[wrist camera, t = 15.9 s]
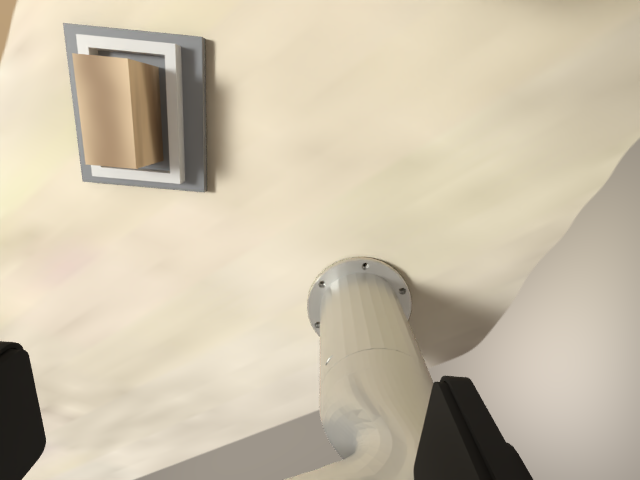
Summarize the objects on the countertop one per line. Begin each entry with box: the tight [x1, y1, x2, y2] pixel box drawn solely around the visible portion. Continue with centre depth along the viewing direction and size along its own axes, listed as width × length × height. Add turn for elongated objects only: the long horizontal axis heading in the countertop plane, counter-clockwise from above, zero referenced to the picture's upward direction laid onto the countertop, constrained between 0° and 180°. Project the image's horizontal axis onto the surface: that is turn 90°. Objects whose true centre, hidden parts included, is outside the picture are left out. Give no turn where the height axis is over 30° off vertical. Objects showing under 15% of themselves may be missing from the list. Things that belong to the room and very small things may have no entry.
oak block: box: [72, 53, 164, 169], centre depth 34 cm, size 4×9×6 cm, turn 175°
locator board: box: [63, 23, 207, 192], centre depth 37 cm, size 15×13×2 cm
